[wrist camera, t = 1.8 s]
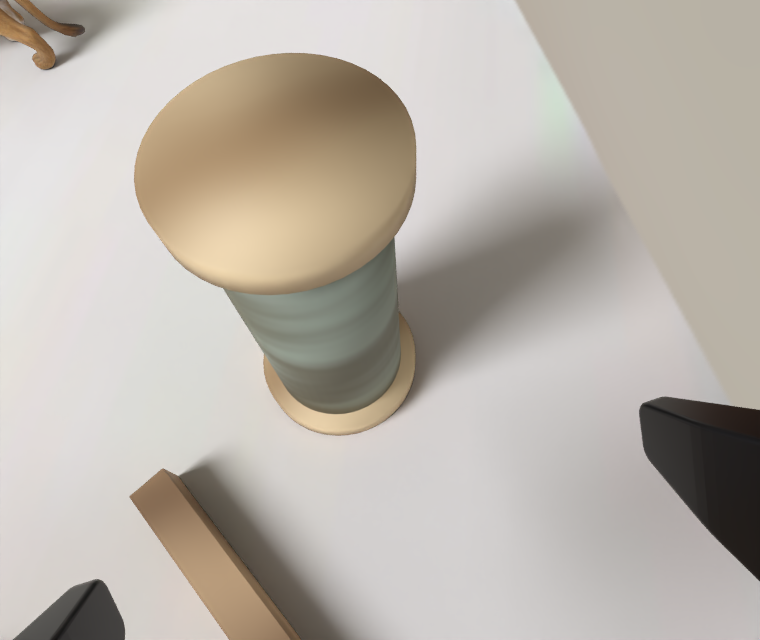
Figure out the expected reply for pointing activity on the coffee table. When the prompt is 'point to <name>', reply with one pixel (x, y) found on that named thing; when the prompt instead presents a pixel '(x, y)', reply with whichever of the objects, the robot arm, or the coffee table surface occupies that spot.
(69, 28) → the lion figurine
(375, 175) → the cord spool
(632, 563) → the coffee table surface
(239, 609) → the wooden plank structure
